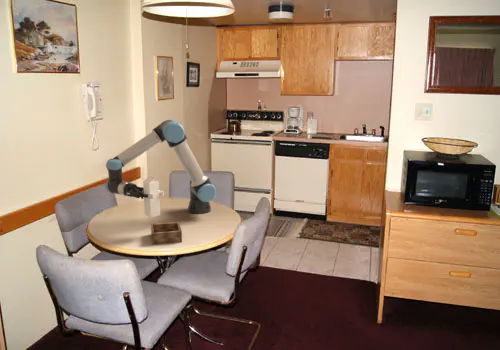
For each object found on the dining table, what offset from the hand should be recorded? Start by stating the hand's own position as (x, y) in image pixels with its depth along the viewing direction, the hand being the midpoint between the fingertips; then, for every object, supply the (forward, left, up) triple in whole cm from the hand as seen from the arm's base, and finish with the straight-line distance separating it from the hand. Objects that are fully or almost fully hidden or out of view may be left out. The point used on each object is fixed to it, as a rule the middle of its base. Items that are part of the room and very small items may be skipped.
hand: (158, 195), depth 225 cm
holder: (-3, +2, -24) cm, 24 cm away
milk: (+3, -4, -12) cm, 13 cm away
